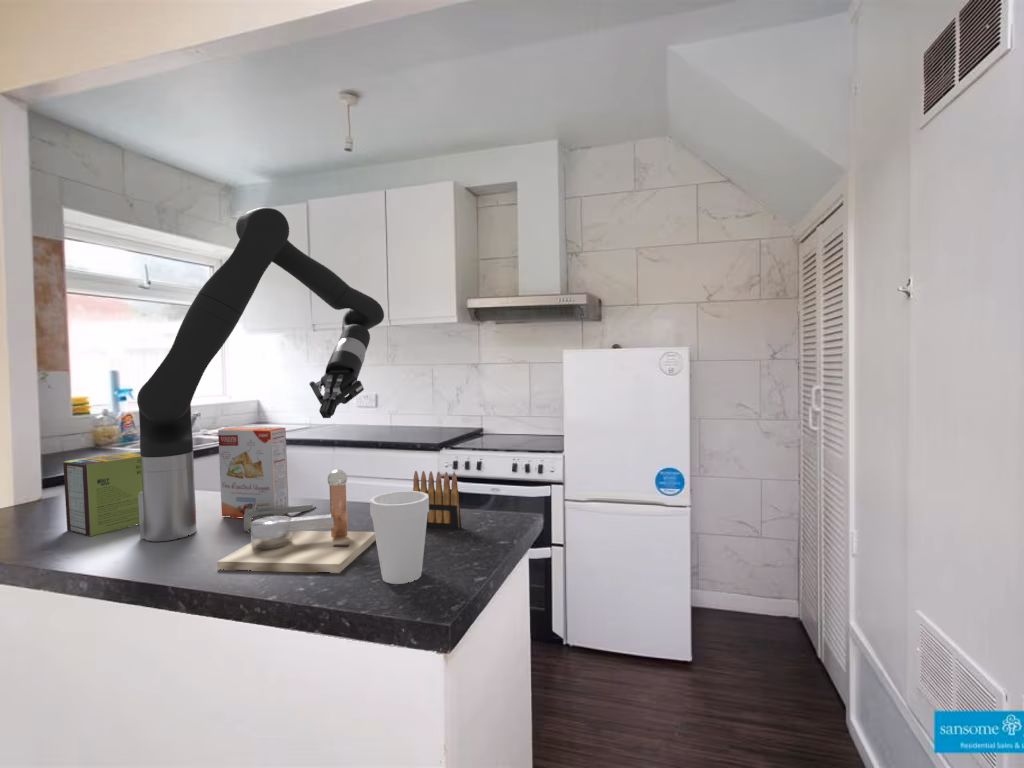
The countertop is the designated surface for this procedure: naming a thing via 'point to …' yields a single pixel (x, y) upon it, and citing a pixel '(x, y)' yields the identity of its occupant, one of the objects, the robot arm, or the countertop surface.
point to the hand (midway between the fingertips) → (325, 415)
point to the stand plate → (302, 553)
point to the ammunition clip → (440, 501)
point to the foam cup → (400, 533)
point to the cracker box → (252, 468)
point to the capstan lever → (304, 519)
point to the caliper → (269, 512)
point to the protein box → (102, 492)
